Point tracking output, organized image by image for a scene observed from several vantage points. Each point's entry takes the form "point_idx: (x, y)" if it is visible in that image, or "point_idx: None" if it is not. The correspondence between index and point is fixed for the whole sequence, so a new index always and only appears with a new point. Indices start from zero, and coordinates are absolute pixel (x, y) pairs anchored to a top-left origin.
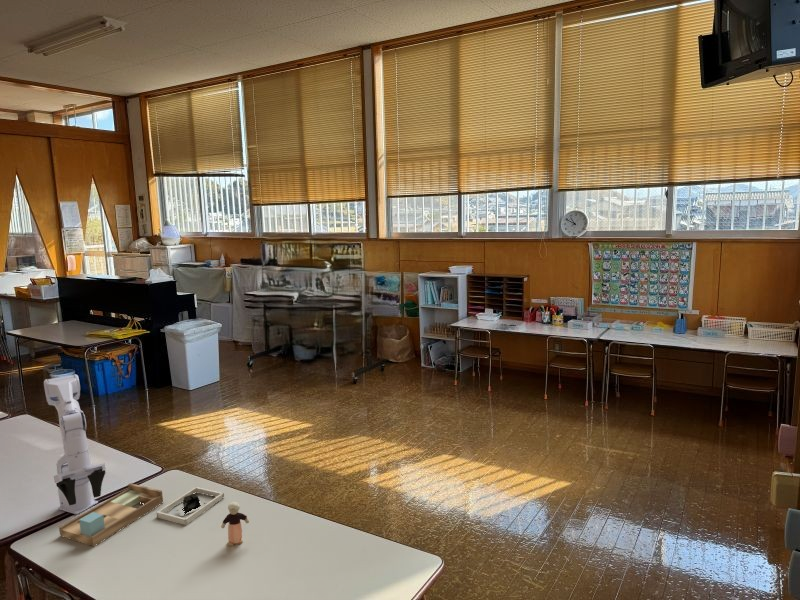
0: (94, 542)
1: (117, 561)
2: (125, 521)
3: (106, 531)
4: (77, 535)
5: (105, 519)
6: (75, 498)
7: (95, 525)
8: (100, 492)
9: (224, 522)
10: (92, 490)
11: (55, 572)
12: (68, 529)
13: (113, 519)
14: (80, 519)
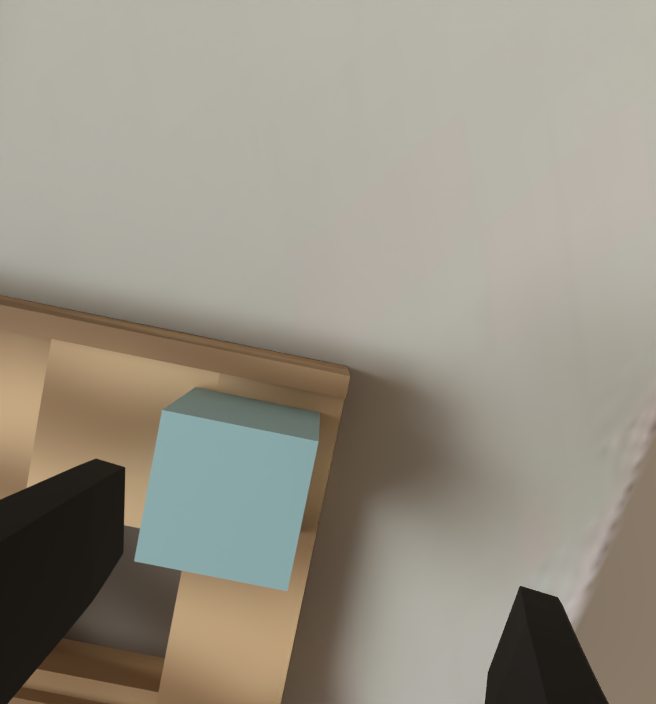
0: (338, 368)
1: (476, 54)
2: (47, 309)
3: (225, 347)
4: (312, 548)
5: None
6: (537, 648)
7: (266, 417)
8: (57, 477)
9: None
10: (45, 653)
11: (647, 414)
12: (262, 677)
13: (60, 413)
14: (280, 581)
